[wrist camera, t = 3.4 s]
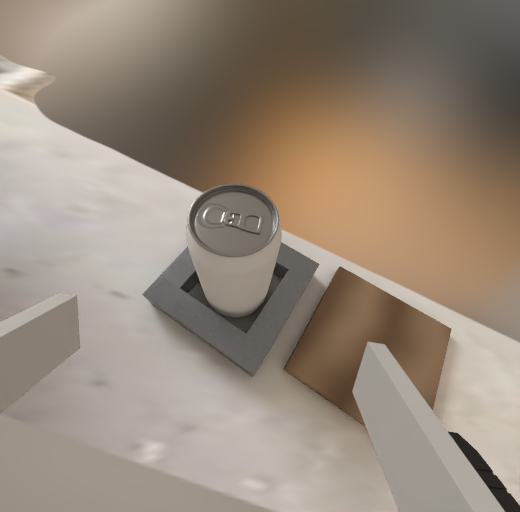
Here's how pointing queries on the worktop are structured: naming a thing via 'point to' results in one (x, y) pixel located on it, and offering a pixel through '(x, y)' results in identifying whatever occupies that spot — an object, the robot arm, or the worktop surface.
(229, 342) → the steel collar
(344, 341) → the walnut pad
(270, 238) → the can
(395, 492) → the robot arm
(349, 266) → the worktop surface
